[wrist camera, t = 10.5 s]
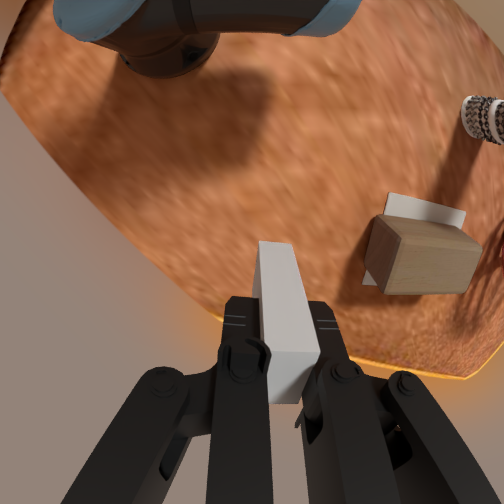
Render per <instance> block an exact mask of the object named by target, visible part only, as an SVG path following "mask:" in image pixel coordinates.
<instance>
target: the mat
mask: <svg viewBox="0 0 504 504" xmlns="http://www.w3.org/2000/svg"><path fill="white" fill-rule="evenodd" d="M383 215H390V216H397V217H404V218H411V219H417V220H424V221H430V222H436V223H442V224H448V225H453V226H456V227H458V228H459V229H460V230H461V227H462V224H463V221H464V218H465V215H466V212H465V211H462V210H458V209H455V208H451V207H448V206H444V205H440V204H437V203H433V202H429V201H425V200H421V199H417V198H413V197H409V196H404V195H400V194H396V193H391V192H389V193H388V197H387V202H386V205H385V209H384V213H383ZM362 285H376V286H377V284H376V283H375V281H374V280H373V278H372V277H371V275H370V273H369V272H368V270H366V273H365V276H364V278H363V281H362Z"/></svg>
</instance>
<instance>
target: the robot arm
mask: <svg viewBox="0 0 504 504" xmlns="http://www.w3.org/2000/svg"><path fill="white" fill-rule="evenodd" d="M361 1H362V0H54V4H53V15H54V19H55V22H56V24H57V26H58V27H59V28H60V29H61V30H62V31H64V32H65V33H67V34H69V35H71V36H73V37H75V38H76V39H77V40H79V41H83V42H86V41H87V42H91V43H94V44H97V45H100V46H102V47H105V48H108V49H111V50H114V51H116V52H119V54H120V56H121V58H122V59H123V61H124V62H125V64H126V65H127V66H128V67H129V68H131V69H132V70H133V71H135V72H137V73H139V74H141V75H144V76H147V77H151V78H172V77H176V76H180V75H182V74H185V73H187V72H189V71H191V70H193V69H195V68H196V67H198V66H199V65H200V64H202V63H203V62H204V61H205V60H206V59H207V58H208V57H209V56H210V54H211V53H212V52H213V50H214V49H215V47H216V45H217V43H218V40H219V37H220V33H232V32H251V33H275V34H281V35H283V36H287V37H291V36H297V35H300V36H312V37H326V36H328V35H332V34H335V33H337V32H338V31H340V30H341V29H342V28H344V27H345V26H346V25H347V23H348V22H349V21H350V20H351V18H352V17H353V16H354V14H355V12H356V11H357V9H358V7H359V5H360V3H361ZM301 396H302V400H303V409H302V411H301V413H300V415H299V416H298V418H297V420H296V422H295V428H298V427H299V425H300V423H301V431H302V440H303V449H304V457H305V467H306V476H307V486H308V496H309V504H501V502H500V500H499V499H498V497H497V495H496V493H495V491H494V489H493V488H492V486H491V484H490V483H489V481H488V479H487V477H486V476H485V474H484V472H483V471H482V469H481V467H480V466H479V464H478V463H477V461H476V460H475V458H474V457H473V455H472V453H471V452H470V450H469V448H468V447H467V445H466V444H465V442H464V441H463V439H462V438H461V436H460V435H459V433H458V432H457V430H456V429H455V427H454V426H453V424H452V423H451V422H450V420H449V419H448V417H447V416H446V414H445V413H444V411H443V410H442V409H441V407H440V406H439V404H438V403H437V402H436V400H435V399H434V397H433V396H432V395H431V393H430V392H429V390H428V389H427V388H426V386H425V385H424V384H423V383H422V381H421V380H420V379H419V378H418V377H417V376H416V375H415V374H413V373H411V372H408V371H403V370H402V371H396V372H395V373H393V374H392V375H391V376H390V378H389V379H388V380H387V379H382V378H378V377H373V376H369V375H366V374H364V372H363V371H362V369H361V367H360V366H359V365H357V364H356V363H355V362H354V361H351V360H350V359H349V356H348V353H347V350H346V347H345V344H344V342H343V339H342V336H341V333H340V330H339V327H338V324H337V322H336V319H335V316H334V313H333V310H332V309H331V308H330V307H329V306H328V305H327V304H326V303H325V302H321V301H307V298H306V294H305V291H304V287H303V283H302V280H301V276H300V273H299V269H298V266H297V262H296V259H295V255H294V252H293V248H292V245H291V244H287V243H277V242H266V241H259V244H258V251H257V259H256V266H255V274H254V281H253V289H252V298H250V297H238V296H232V297H231V298H230V299H229V300H228V302H227V303H226V304H225V313H224V321H223V330H222V339H221V344H220V347H219V349H218V360H217V363H216V364H215V365H214V366H213V367H212V368H211V369H209V370H207V371H206V372H202V373H198V374H192V375H185V376H184V375H183V373H182V372H180V371H178V370H176V369H174V368H170V367H165V366H164V367H155V368H153V369H151V370H148V371H147V372H146V373H145V374H144V375H143V376H142V377H141V378H140V379H139V381H138V382H137V384H136V385H135V387H134V389H133V390H132V392H131V393H130V394H129V396H128V398H127V399H126V401H125V402H124V404H123V405H122V407H121V408H120V410H119V411H118V413H117V414H116V416H115V417H114V419H113V420H112V422H111V424H110V425H109V427H108V428H107V430H106V431H105V433H104V434H103V436H102V438H101V439H100V441H99V442H98V444H97V445H96V447H95V449H94V450H93V452H92V453H91V455H90V456H89V458H88V460H87V461H86V463H85V465H84V466H83V468H82V469H81V471H80V472H79V474H78V476H77V477H76V479H75V481H74V482H73V484H72V486H71V487H70V489H69V490H68V492H67V494H66V495H65V497H64V499H63V500H62V502H61V504H162V503H163V501H164V499H165V496H166V494H167V492H168V490H169V488H170V486H171V483H172V481H173V479H174V477H175V475H176V473H177V470H178V468H179V466H180V464H181V462H182V459H183V457H184V455H185V453H186V450H187V448H188V446H189V444H190V442H191V439H192V437H195V436H201V435H206V434H211V440H210V452H209V465H208V478H207V491H206V504H273V481H272V460H271V441H270V421H269V404H298V403H299V400H300V398H301ZM397 425H398V426H399V427H400V428H399V427H398V426H397Z"/></svg>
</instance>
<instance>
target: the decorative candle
mask: <svg viewBox="0 0 504 504" xmlns="http://www.w3.org/2000/svg"><path fill="white" fill-rule="evenodd" d="M461 118H462V123H463V126H464V128H465V130H466V132H467V133H468V134H469V135H470V136H471V137H474V138H477V139H479V138H481V140H483V141H484V140H485V138H486V141H487V142H493V143H495V144H497V143H498V145H501V144H504V100H500V99H497V98H496V97H494V98H491V97H488V98H486V97H485V96H481V97H480V96H468V97H467V98H466V99H465V100H464V101H463V103H462V106H461Z"/></svg>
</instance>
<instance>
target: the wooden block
mask: <svg viewBox="0 0 504 504" xmlns="http://www.w3.org/2000/svg"><path fill="white" fill-rule="evenodd" d="M482 250H483V248H482V246H481V245H480V244H479V243H478V242H476V241H475V240H474V239H472V238H471V237H470V236H468V235H467V234H466V233H464V232H463V231H462V230H460V229H459V228H458V227H456V226H453V225H448V224H442V223H436V222H430V221H424V220H417V219H411V218H404V217H397V216H390V215H382V214H380V215H376V217H375V220H374V224H373V228H372V232H371V236H370V240H369V244H368V248H367V252H366V255H365V259H364V266H365V267H366V269H367V270H368V272H369V273H370V275H371V277H372V278H373V280H374V281H375V283H376V284H377V286H378V287H379V289H380V291H381V292H382V293H384V294H386V295H426V294H463V293H464V292H465V291H466V290H467V288H468V286H469V283H470V281H471V279H472V277H473V274H474V272H475V269H476V267H477V264H478V262H479V259H480V257H481V254H482Z"/></svg>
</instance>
